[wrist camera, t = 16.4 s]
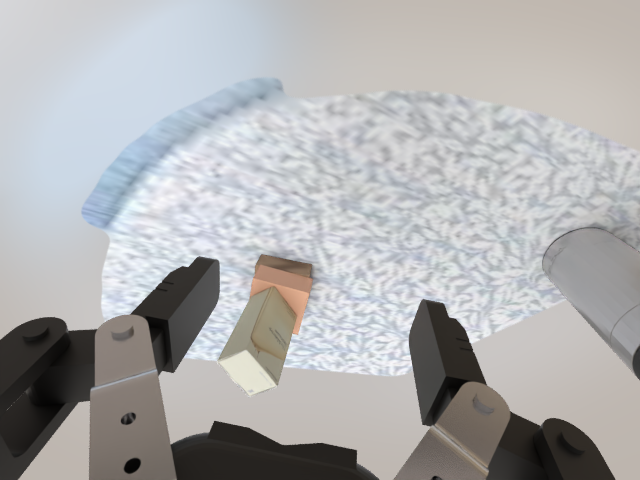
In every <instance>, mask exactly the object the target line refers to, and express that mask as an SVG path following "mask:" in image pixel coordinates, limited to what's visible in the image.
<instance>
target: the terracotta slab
mask: <svg viewBox="0 0 640 480" xmlns="http://www.w3.org/2000/svg"><path fill="white" fill-rule="evenodd" d="M312 281H313V279H312V278H308V277H304V276H301V275H297V274H293V273H290V272H286V271H282V270H278V269H275V268H271V267H267V266H264V265H260V266H259V268H258V270H257V272H256V274H255V276H254V277H253V282H252V288H251V293H250V298H251V296H253V295H255V294H257V293H260V292H262V291H264V290H266V289H268V288H271V287H273V286H274V287H275V288H276V289H277V290H278V292H279V293H280V294H281V296H282V297H283V298H284V300H285V301H286V302H287V304H288V305H289V306H290V308H291V309H292V311H293V312H294V314H295V315H296V316H297V319H296V322H295V326H294V330H293V334H297V335H298V332H299V329H300V325H301V322H302V318H303V315H304V311H305V308H306V304H307V301H308V297H309V294H310V290H311V285H312ZM249 300H250V299H249Z"/></svg>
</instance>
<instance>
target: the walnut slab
mask: <svg viewBox="0 0 640 480" xmlns="http://www.w3.org/2000/svg"><path fill="white" fill-rule="evenodd" d="M260 265H264V266H267V267H271V268H275V269H278V270H282V271H286V272H290V273H293V274H297V275H301V276H304V277H308V278H310V273H311V267H312V264H307V263H302V262H297V261H292V260H287V259H282V258H277V257H272V256H267V255H261V256H260V258H259V260H258V262H257V264H256V266H255V274H256V272H257V270H258V268H259V266H260Z"/></svg>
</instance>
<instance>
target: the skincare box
mask: <svg viewBox="0 0 640 480" xmlns="http://www.w3.org/2000/svg"><path fill="white" fill-rule="evenodd" d="M296 319H297V316H296V315H295V314H294V312H293V311H292V309H291V308H290V306H289V305H288V304H287V302H286V301H285V300H284V298H283V297H282V296H281V294H280V293H279V292H278V290H277V289H276V288H275V287H274V286H273V287H271V288H268V289H266V290H264V291H262V292H260V293H257V294H255V295H253V296H251V298H250V300H249V302H248V303H247V305H246V307H245V309H244V311H243V313H242V315H241V317H240V319H239V321H238V322H237V324H236V326H235V328H234V330H233V332H232V334H231V336H230V338H229V340H228V342H227V344H226V345H225V347H224V349H223V351H222V353H221V355H220V357H219V359H218V360H217V363H218V365H219V366H220V367H221V368H222V369H223V370H224V371H225V372H226V373H227V375H229V377H230V378H231V379H232V380H233V381H234V382H235V383H236V384H237V385H238V386H239V388H241V390H242V391H243V392H244V393H245V394H246V395H247V396H248V397H251V396H254V395H257V394H260V393H263V392H266V391H269V390H271V389H274V388H276V387H277V386H278V382H279V379H280V375H281V372H282V368H283V365H284V361H285V358H286V354H287V351H288V347H289V344H290V340H291V337H292V333H293V330H294V326H295V322H296Z"/></svg>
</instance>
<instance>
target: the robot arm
mask: <svg viewBox="0 0 640 480" xmlns="http://www.w3.org/2000/svg"><path fill="white" fill-rule="evenodd" d="M543 270H544V272H545V274H546V276H547V277H548V278H549V279H550V280H551V282H552V283H553V284H554V285H555V286H556V287H557V288H558V289H559V291H560V292H561V293H562V294H563V295H564V296H565V298H566V299H567V300H568V301H569V302H570V303H571V304H572V305H573V306H574V307H575V309H576V310H577V311H578V312H579V313H580V314H581V315H582V316H583V318H584V319H585V320H586V321H587V322H588V323H589V324H590V325H591V327H592V328H594V330H595V331H596V332H597V333H598V334H599V335H600V337H601V338H602V339H603V340H604V341H605V342H606V343H607V344H608V345H609V347H610V348H611V349H612V350H613V351H614V352H615V353H616V354H617V355H618V356H619V358H620V359H621V360H622V361H623V362H624V363H625V364H626V365H627V366H628V368H629V369H630V370H631V371H632V372H633V373H634V374H635V375H636V376H637V378H638V379H639V380H640V252H638V251H637V250H635V249H634V248H632V247H631V246H629V245H628V244H626V243H625V242H623V241H622V240H620V239H619V238H617V237H615V236H614V235H612V234H611V233H609V232H607V231H605V230H602V229H597V228H584V229H578V230H575V231H572V232H570V233H568V234H566V235H564V236H562V237H561V238H559V239H558V240H556V241H555V242H554V243H553V244H552V245H551V246H550V247H549V249H548V250H547V252H546V254H545V256H544V259H543ZM219 292H220V271H219V261H218V260H216V259H210V258H205V257H200V256H199V257H197V258H196V259H195V260H194V261H193V263H192V264H191V265H190V266H189V267H184V266H182V267H180V268H178V269H176V270H174V271H172V272H170V273H169V274H168V276H167V277H166V278H165V279H164V280H163V281H162V283H160V284H159V285H158V286H157V287H156V289H155V290H153V291H152V292H151V293H150V294H149V295H148V296H147V297H146V298H145V299H144V301H143V302H142V303H141V304H140V305H139V306H138V307H137V308H136V309H135V310H134V311H133V312H132V313H131V314H130V315H122V316H118V317H115V318H112V319H110V320H108V321H106V322H105V323H103V324H102V325H101V326H100V327H99V328H98V329H95V330H77V331H68V329H67V325H66V323H65V322H64V321H63V320H62V319H59V318H55V317H45V318H39V319H35V320H31V321H28V322H26V323H24V324H21V325H20V326H18V327H16V328H15V329H13V330H12V331H11V332H9V333H8V334H7V335H6V336H5V337H3V338H2V339H1V340H0V480H18V479H19V478H20V476H21V475H22V474H23V472H24V471H25V470H26V469H27V467H28V466H29V465H30V463H31V462H32V461H33V460H34V458H35V457H36V456H37V455H38V453H39V452H40V451H41V449H42V448H43V447H44V446H45V444H46V443H47V442H48V441H49V439H50V438H51V437H52V435H53V434H54V433H55V432H56V430H57V429H58V428H59V427H60V425H61V424H62V423H63V421H64V420H65V419H66V417H67V416H68V415H69V414H70V412H71V411H72V410H73V409H74V407H75V406H76V405H77V404H78V402H83V401H90V448H89V480H379V479H378V478H377V477H376V476H375V475H374V474H373V473H371V472H370V471H369V470H367V469H366V468H364V467H363V466H361V465H359V464H357V450H353V449H348V448H343V447H338V446H333V445H329V444H324V443H316V444H315V443H313V444H298V445H281V444H279V443H277V442H275V441H273V440H271V439H269V438H267V437H266V436H264V435H262V434H260V433H258V432H256V431H254V430H252V429H250V428H247V427H242V426H237V425H232V424H227V423H222V422H218V421H214V423H213V425H212V428H211V430H210V433H202V434H196V435H192V436H189V437H186V438H184V439H182V440H179V441H177V442H175V443H173V444H170V439H169V434H168V428H167V423H166V417H165V412H164V406H163V400H162V395H161V389H160V384H159V378H158V376H159V374H160V373H161V372H162V371H166V372H171V373H174V372H175V370H176V369H177V367H178V365H179V364H180V362H181V361H182V359H183V357H184V356H185V354H186V353H187V351H188V349H189V348H190V346H191V345H192V343H193V342H194V340H195V338H196V337H197V335H198V334H199V332H200V330H201V329H202V327H203V326H204V324H205V322H206V321H207V319H208V318H209V316H210V314H211V313H212V311H213V310H214V308H215V306H216V304H217V302H218V298H219ZM409 348H410V354H411V360H412V365H413V371H414V377H415V383H416V389H417V395H418V400H419V407H420V413H421V419H422V424H423V425H427V426H431V428H430V429H429V430H428V431H427V433H426V434H425V436H424V437H423V439H422V440H421V441H420V443H419V444H418V446H417V447H416V449H415V450H414V451H413V453H412V454H411V456H410V457H409V458H408V460H407V461H406V463H405V464H404V465H403V467H402V468H401V470H400V471H399V473H398V474H397V475H396V477H395V478H394V480H615V478H614V476H613V474H612V473H611V471H610V469H609V467H608V466H607V464H606V462H605V460H604V458H603V457H602V455H601V453H600V451H599V450H598V448H597V447H596V445H595V444H594V443H593V441H592V440H591V439H590V438H589V437H588V436H587V435H585V433H584V432H582V431H581V430H580V429H578V428H577V427H575V426H574V425H572V424H570V423H568V422H566V421H564V420H561V419H556V418H550V419H547V420H545V421H544V423H543V424H542V425H541V426H539V425H537V424H535V423H533V422H531V421H529V420H527V419H524V418H522V417H520V416H518V415H516V414H514V413H512V412H511V411H510V410H509V407H508V405H507V404H506V402H505V400H504V399H503V398H502V397H501V396H500V395H499V394H498V393H497V392H496V391H495V390H493V389H492V388H490V387H488V386H487V384H486V381H485V379H484V377H483V374H482V371H481V369H480V366H479V364H478V361H477V359H476V356H475V354H474V352H473V349H472V346H471V343H469V338H468V336H467V333H466V331H465V329H464V328H463V327H462V326H461V324H460V323H459V322H458V321H457V320H456V319H454V318H449V316H448V314H447V311H446V308H445V305H444V304H443V303H440V302H435V301H430V300H425V299H423V300H422V301H421V303H420V305H419V308H418V310H417V313H416V316H415V319H414V321H413V324H412V327H411V330H410V334H409ZM11 405H12V406H11ZM10 406H11V407H10ZM9 407H10V408H9ZM8 408H9V409H8ZM7 409H8V410H7Z"/></svg>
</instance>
